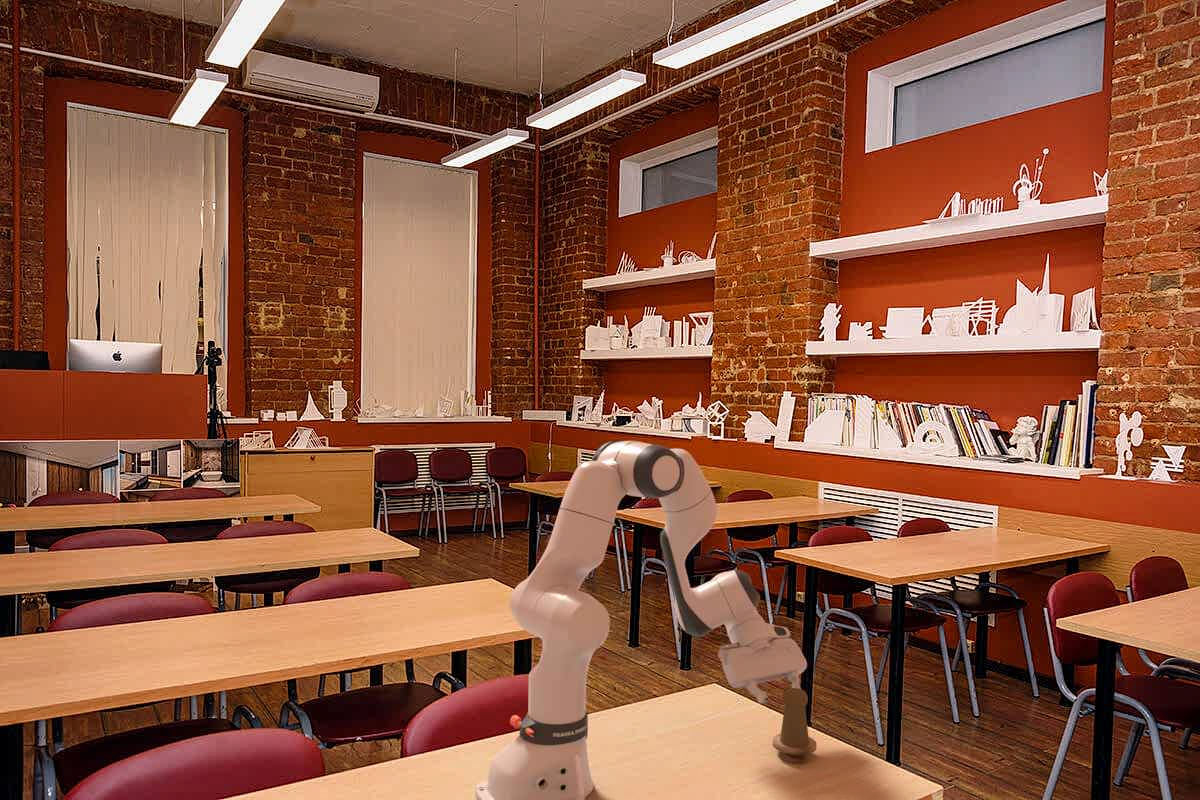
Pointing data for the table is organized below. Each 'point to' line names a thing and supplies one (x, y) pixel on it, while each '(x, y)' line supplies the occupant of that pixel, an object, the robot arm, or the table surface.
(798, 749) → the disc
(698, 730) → the table surface
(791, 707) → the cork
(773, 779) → the table surface
